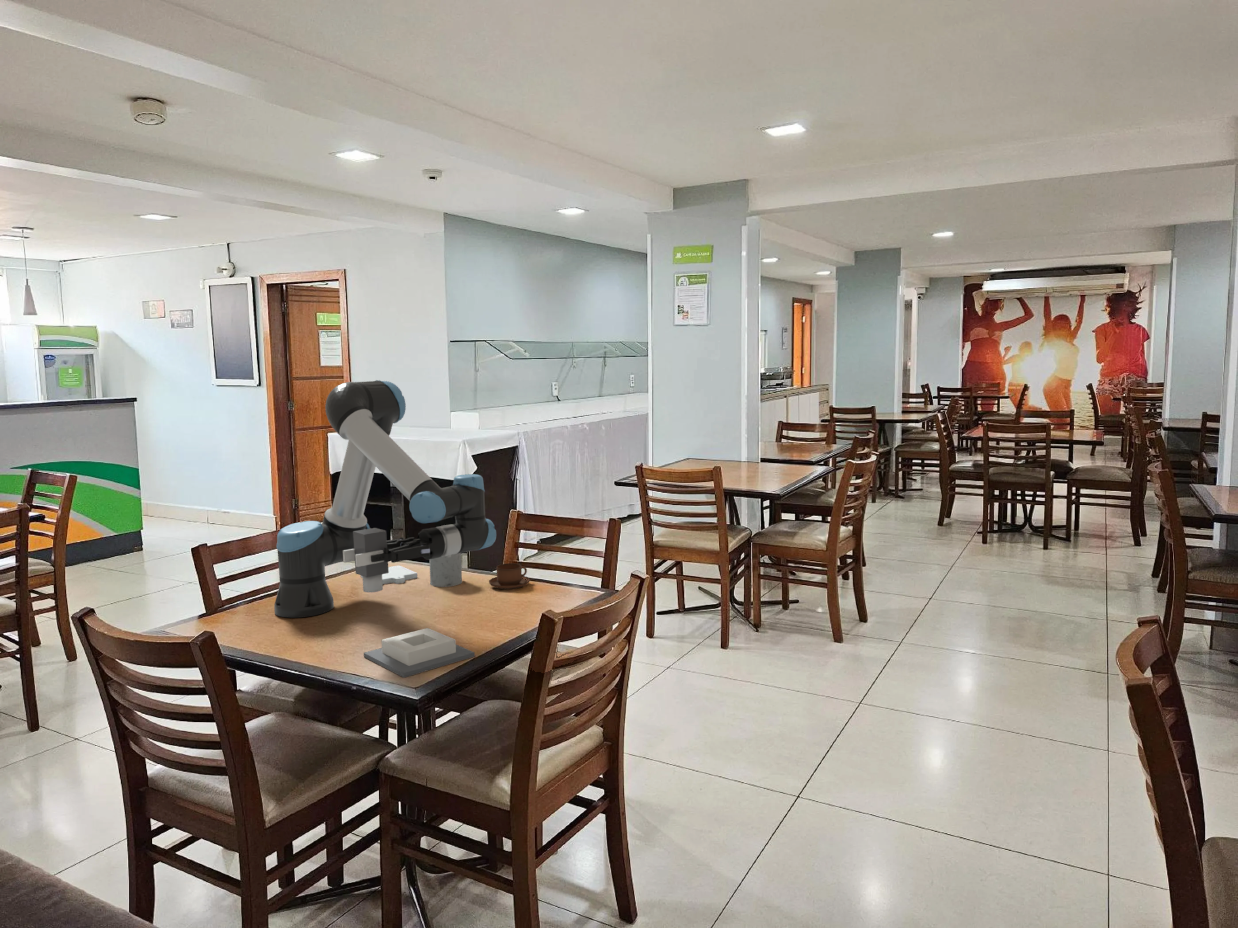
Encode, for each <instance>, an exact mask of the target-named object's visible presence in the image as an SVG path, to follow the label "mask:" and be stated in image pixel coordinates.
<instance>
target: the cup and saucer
mask: <svg viewBox="0 0 1238 928" xmlns="http://www.w3.org/2000/svg"><path fill="white" fill-rule="evenodd" d="M522 570H524V572H523V573H522ZM527 573H528V570H527V567H526V566H522V564H520V563H513V562H512V563H511V562H510V563H501V564H499V565H496V576H494V577H493V578H490V579H489V580H488V583H489V585H490V586H492V588H493V587H494V588H495V589H499V590H500V589H501V590H513V589H514V590H515V589H519V588H520V589H521V588H522V587H525V586H527V585H528V584H529V583H530V581H531V580H530V577H528V576H526V575H527ZM522 578H523V579H522ZM525 579H527V580H525Z"/></svg>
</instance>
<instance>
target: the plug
mask: <svg viewBox="0 0 1238 928" xmlns="http://www.w3.org/2000/svg"><path fill="white" fill-rule="evenodd" d="M387 536H388V535H387V530H385V529H380V528H378V527H373V528H371V527H370V529H365V530H359V531H353V538H354V553H355V555H356V554H362V553H367V552H373V551H378V550H383V553H384V548H387V541H388V540H387V539H388V538H387ZM354 566H355V567H354V568H355V569H354V570H355V575H359V576H360V575H361V576H362V577H363V578H362V577H361V576H360V577H361V578H362V590H363V592H364V593H378V592H381V591H383V590H384V588H383V587H384V586H383V585H384V584H383V583H382V574H386V573H389V571H388V567H389V562H385V560H384V562H380V563H375V564H370V565H365V566H360V567H356V559H355V561H354Z"/></svg>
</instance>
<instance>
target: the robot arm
mask: <svg viewBox="0 0 1238 928" xmlns="http://www.w3.org/2000/svg"><path fill="white" fill-rule="evenodd" d="M406 406H407V405H406V399H405V397H404V395H403V392H402V390H401V389H400V388H399V386H398V385H396V384H395V383H393V382H391V381H390V380H389V381H387V380H380V379H379V380H377V379H376V380H372V381H371V380H369V381H347V382H343V383H340V384H338V385H336V386H334V388H333V389H332V390H331V391H330V392H329V394H328V395H327V397H326V401H325V406H324V407H325V415H326V417H327V421H328V423H329V424H330V426H331V428H332V429H333V430H334V431H335V432H336V434H337V435H339V436H340V438H341V439H343V440H345V441H348V442H347V446H346V449H345V450H346V451H345V455H344V458H343V463H342V466H341V471H340V475H339V478H338V483H337V486H336V490H335V495H334V498H333V503H332V506H331V507H330V508H328V509H326V511H324V515H323V519H322V522H320V521H319V520H318V521H317V520H306V521H302V522H295V523H291V524H288V525H286V526H284V527H282V528H281V529H280V530H279V531H278V532H277V535H276V541H277V543H276V550H277V559H278V575H279V587H278V590H277V594H276V598H275V600H274V615H276V616H278V617H282V618H290V619H291V618H293V619H295V618H306V617H314V616H319V615H323V614H325V613H327V612H330V611H331V610H333V609H334V607H335V604H334V603H335V602H334V597H333V595H332V592H331V590H330V588H329V585H328V582H327V581H326V568H325V567H328V566H332V565H335V564H338V563H342V562H343V563H350V562H355V559H356V567H360V566H365V565H370V564H375V563H380V562H384V560H385V562H388V563H389V562H391V563H393V564H395V563H398V562H402V561H407V560H413V559H417V558H418V559H419V558H423V559H425V560H426V561H427V560H429V559H434V558H439V557H441V556H442V557H443V556H447V557H451V555H452V554H458V553H461V554H463V553H467V552H474V551H480V550H482V549H486V548H489V547H491V546H493V545H494V543H495V542H496V539H497V530H496V529H495V524H494V522H493V521H492V520H491V519H489V518H486V503H485V502H486V501H485V493H486V490H485V485H484V478H483V476H482V475H481V474H474V473H471V474H469V473H468V474H459V475H456V476H455V477H454V478H453V483H452V485H451V486H446V487H440V486H439V484H437V482H435V481H434V480H433V479H432V477H430V475H428V474H427V473H426V472H425V471H424V470H423V468H422V467H420V465H419V464H417V463H416V462H415V460H413V459H412V457H410V455H408V454H407V452H405V450H403V448H402V447H401V446H399V444H397V442H396V441H394V440H393V439H392V438H391V437H390V435H391V432H392V427H393V426H394V425H393V424H397V423H398V422H399V421H401V420H402V419H403V418H404V416H405V413H406V409H407V408H406ZM376 468H377V469H378V470H379V471H380V472H381V473H382V474H383V475H384V477H386V478H387V480H388V481H390V482H391V483H392V484H393V486H394V487H396V489H397V490H399V492H400V493H401V494H402V495H403V496H404V497H405V498H406V499H407V500H408V501H409V506H408V507H409V511H410V513H411V517H412V518H413V519H414V521H416V522H417V523H420V524H429V523H438V522H441V521H443V520H446V519H450V518H454V519H455V523H453V524H451V523H450V524H446V525H445V524H444V525H441V526H436V527H430V528H423V529H421V530H419V532H418V534H417V537H416V538H415V537H414V536H412V537H407V538H404V537H399V538H395V539H389V540H387V548H384V553H383V550H378V551H373V552H367V553H362V554H356V555H355V553H354V538H353V531H359V530H365V529H371V527H370V525H369V523H368V518H367V517H366V516H365V514H364V513H365V511H366V510H365V509H366V505H367V502H368V499H369V498H368V497H369V493H370V490H371V486H372V482H373V480H374V479H373V478H374V475H375V474H374V473H375V470H376Z"/></svg>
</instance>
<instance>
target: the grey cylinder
mask: <svg viewBox="0 0 1238 928" xmlns="http://www.w3.org/2000/svg"><path fill="white" fill-rule="evenodd" d="M462 569H463V568H462V553H458V554H452V555H451V557H447V556H443V557H442V556H441V557H439V558H434V559H429V582H430V584H429V585H430V586H432V587H436V588H437V587H438V588H445V587H447V588H450V587H454V586H458V585H460V584H462V583H463V577H462V575H463V572H462Z"/></svg>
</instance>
